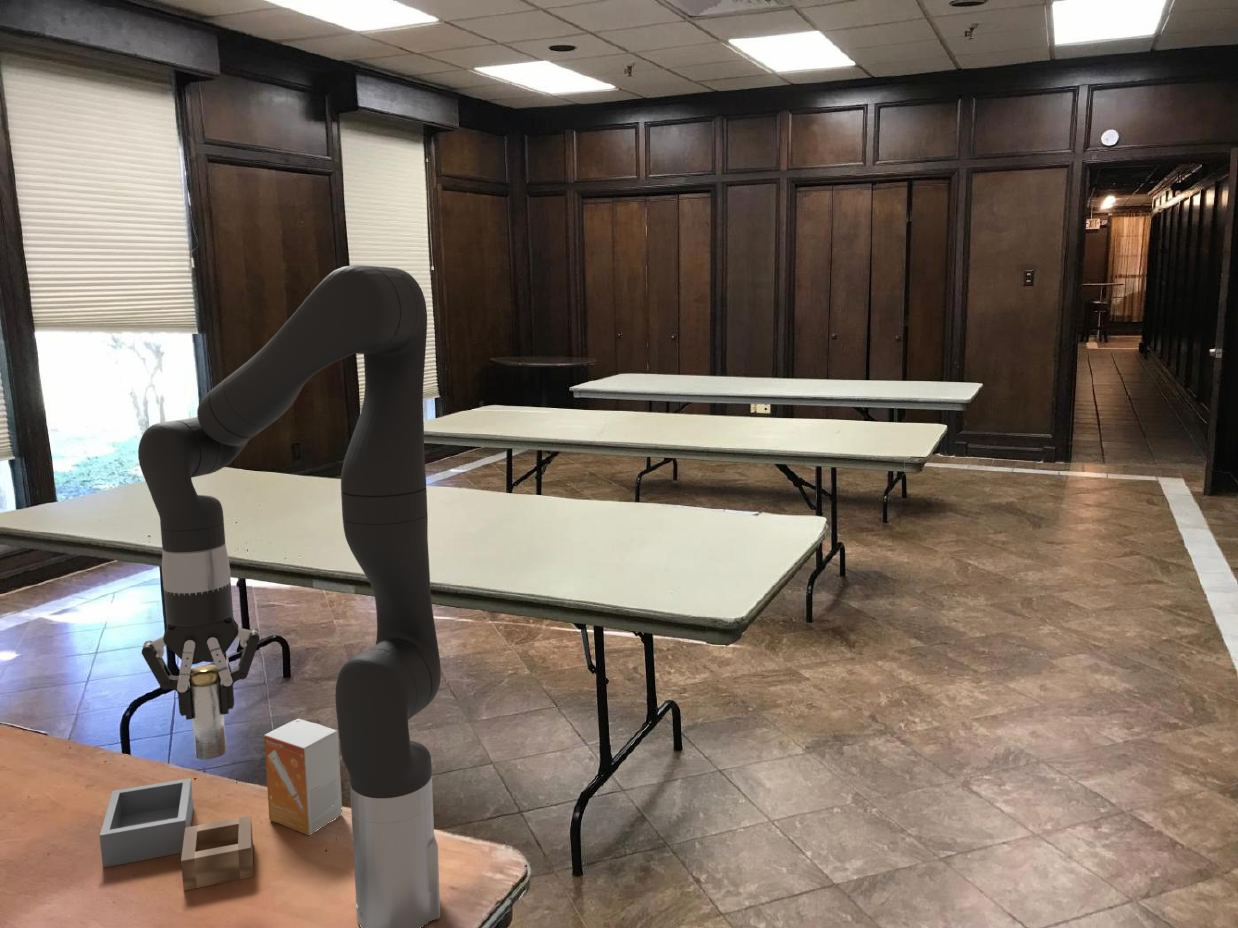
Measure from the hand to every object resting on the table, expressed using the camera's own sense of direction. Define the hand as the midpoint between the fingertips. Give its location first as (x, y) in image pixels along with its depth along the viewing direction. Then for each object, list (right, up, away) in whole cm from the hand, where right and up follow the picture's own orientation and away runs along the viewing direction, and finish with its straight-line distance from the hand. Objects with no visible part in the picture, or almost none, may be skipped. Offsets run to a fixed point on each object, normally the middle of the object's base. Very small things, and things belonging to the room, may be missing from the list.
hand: (208, 713), depth 118 cm
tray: (-12, -19, +10) cm, 25 cm away
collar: (0, -21, +3) cm, 21 cm away
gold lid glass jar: (0, -5, +1) cm, 5 cm away
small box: (+7, -19, +15) cm, 25 cm away
